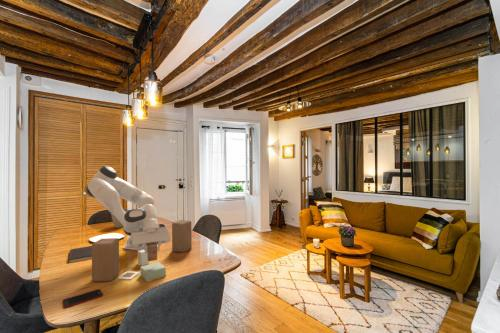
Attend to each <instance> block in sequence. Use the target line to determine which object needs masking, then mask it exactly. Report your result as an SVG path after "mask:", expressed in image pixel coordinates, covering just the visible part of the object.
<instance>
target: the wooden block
mask: <svg viewBox="0 0 500 333" xmlns="http://www.w3.org/2000/svg"><path fill="white" fill-rule="evenodd" d="M91 246H92V258H91V280H92V282H96V283H97V282H110V281H113V279H114V278H116V277H118V275H119V274H120V239H118V238H106V239H100V240H98V241H97V242H92V244H91Z"/></svg>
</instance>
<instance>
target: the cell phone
mask: <svg viewBox="0 0 500 333" xmlns="http://www.w3.org/2000/svg"><path fill="white" fill-rule="evenodd" d="M103 296H104V292H103V291H102V289H101V288H98V289H94V290H91V291H88V292H84V293H81V294H77V295H75V296H70V297H67V298H64V299H63V300H62V306H63V309H68V308H71V307H75V306H78V305H80V304H83V303H88V302H89V301H93V300H97V299H100V298H102V297H103Z"/></svg>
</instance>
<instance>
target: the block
mask: <svg viewBox="0 0 500 333" xmlns="http://www.w3.org/2000/svg"><path fill="white" fill-rule="evenodd" d="M192 236H193V235H192V221H191V220H185V219H180V220H177V221H176V220H175V221H174V222H172V223H171V242H172V244H171V250H172V251H173V252H178V253H179V252H180V253H184V252H187V251H188V250H191V249H192V247H193V246H192V244H193V243H192Z"/></svg>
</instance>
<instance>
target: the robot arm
mask: <svg viewBox="0 0 500 333" xmlns="http://www.w3.org/2000/svg"><path fill="white" fill-rule="evenodd" d="M85 193H86V194H87V195H88V196H89V197H92V198H94V199H96V200H97V201H98V202H99V203H100V204H101V205H103V207H105V208H106V210H107V211H108V212H109V213H110V214H112V215H113V216H114V217H115V218H116V219H117V221H118V222H119V223H120V224H121V225H122V226H123V227H122V228H123V229H122V230H123V232H124V234H126V235H127V236H129V237H128V238H127V240H126V242H125V244H124V245H123V246H122V249H124V250H125V249H126V250H132V251H140V250H143V249H144V250H145V253H148V248H147V244H151V243H156V244H157V252H160V250H161V246H162V244H167V243H170V242H171V240H172V237H171V233H170V231H169V228H168V226H167V224H165V223H159V222H158V210H157V208H156V206H155V198H154V197H153V196H152V195H151V194H149V193H147V192H145V191H143V190H142V189H140V188H138V187H136V186H135V185H133V184H131V183H130V182H128V181H126V180H123V179H122V178H120V177H118V173H117V171H116V170H115V168H113V167H111V166H108V165H103V166H102V167H101V168H99V170H98V171H97V172H96V173H95V174H94V176H92V178H91V180H90V181H89V182H88V184H87V185H86V187H85ZM121 199H124V200H125V201H127V202H129V203H132V204H133V205H136V206H137V208H134V209H133V208H132V209H128V211H127V212H125V211H124V210H123V209H124V208H123V206H122V202H121Z"/></svg>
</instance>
